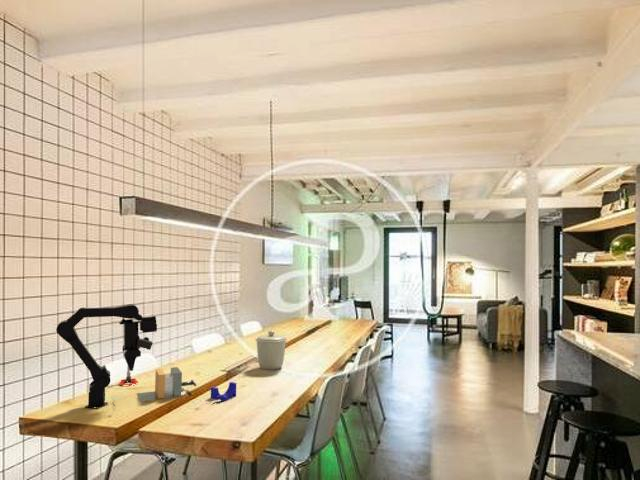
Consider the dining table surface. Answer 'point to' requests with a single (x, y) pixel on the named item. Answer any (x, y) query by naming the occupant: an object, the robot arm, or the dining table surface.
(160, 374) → the block
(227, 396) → the blue arch block
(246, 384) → the dining table surface
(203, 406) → the dining table surface
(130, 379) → the red handwheel with stem
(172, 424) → the dining table surface
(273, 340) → the canister
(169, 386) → the steel block
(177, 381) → the vise
